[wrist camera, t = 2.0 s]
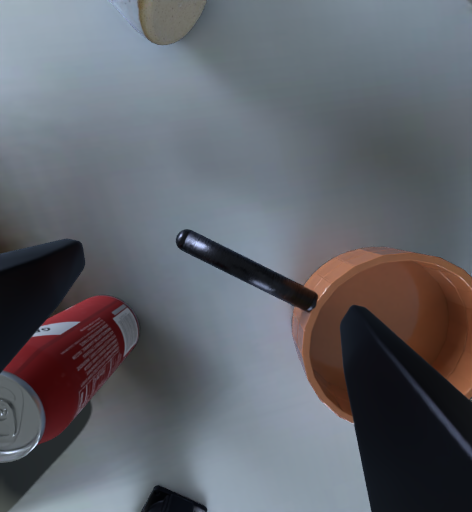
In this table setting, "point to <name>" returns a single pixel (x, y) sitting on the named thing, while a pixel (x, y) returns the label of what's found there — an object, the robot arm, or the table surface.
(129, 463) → the table surface
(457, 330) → the pan
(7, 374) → the soda can
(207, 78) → the table surface
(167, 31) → the ceramic mug
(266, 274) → the pan handle
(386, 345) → the robot arm
